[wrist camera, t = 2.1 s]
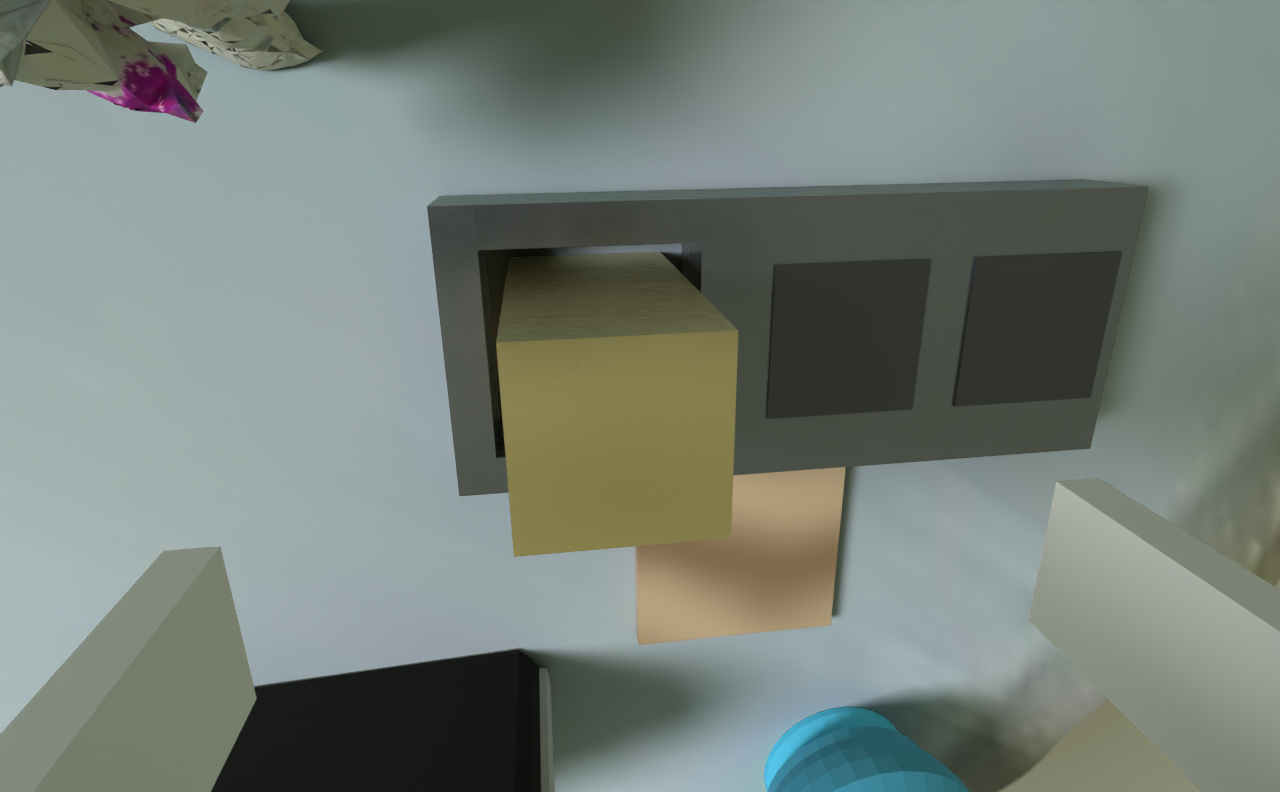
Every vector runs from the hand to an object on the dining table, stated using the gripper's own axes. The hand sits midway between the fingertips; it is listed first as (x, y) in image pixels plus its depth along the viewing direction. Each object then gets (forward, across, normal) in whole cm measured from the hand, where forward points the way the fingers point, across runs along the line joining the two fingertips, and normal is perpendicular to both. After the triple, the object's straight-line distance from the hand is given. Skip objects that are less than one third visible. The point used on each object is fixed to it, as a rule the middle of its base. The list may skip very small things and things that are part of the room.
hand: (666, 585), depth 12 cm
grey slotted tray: (+15, +6, 0) cm, 16 cm away
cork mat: (+15, +5, -8) cm, 18 cm away
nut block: (+15, 0, 0) cm, 15 cm away
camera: (+15, -10, -16) cm, 24 cm away
